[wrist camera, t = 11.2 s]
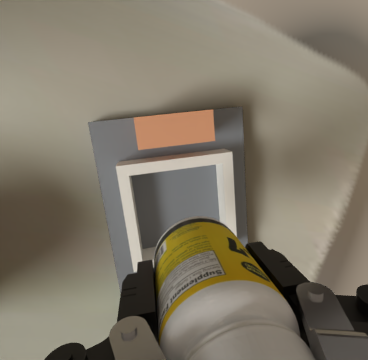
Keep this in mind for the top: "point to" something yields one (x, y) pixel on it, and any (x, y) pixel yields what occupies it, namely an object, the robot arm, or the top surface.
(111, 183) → the holder board
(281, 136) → the top surface
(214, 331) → the supplement bottle
